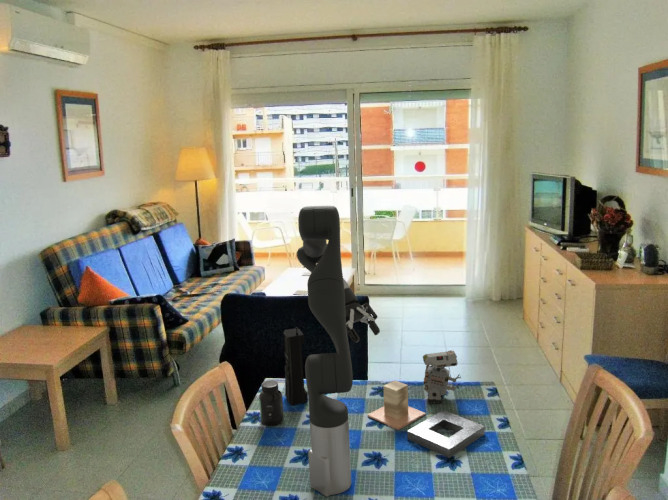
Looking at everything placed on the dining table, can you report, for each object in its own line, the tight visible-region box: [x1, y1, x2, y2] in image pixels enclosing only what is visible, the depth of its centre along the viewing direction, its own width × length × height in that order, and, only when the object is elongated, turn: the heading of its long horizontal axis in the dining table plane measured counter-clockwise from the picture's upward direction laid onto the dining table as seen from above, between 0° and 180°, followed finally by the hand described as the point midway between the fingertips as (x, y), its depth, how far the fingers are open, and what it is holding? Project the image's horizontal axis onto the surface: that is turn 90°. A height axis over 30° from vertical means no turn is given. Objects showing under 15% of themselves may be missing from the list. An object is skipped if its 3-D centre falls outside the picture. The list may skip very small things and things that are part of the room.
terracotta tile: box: [367, 405, 426, 431], centre depth 177 cm, size 12×12×1 cm
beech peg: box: [383, 380, 409, 419], centre depth 176 cm, size 5×5×9 cm
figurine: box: [422, 350, 462, 405], centre depth 185 cm, size 9×12×15 cm
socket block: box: [406, 409, 486, 459], centre depth 163 cm, size 16×14×2 cm
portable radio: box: [283, 326, 309, 406], centre depth 188 cm, size 8×6×25 cm
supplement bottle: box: [258, 380, 285, 428], centre depth 176 cm, size 7×7×12 cm
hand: (368, 337), depth 179 cm, fingers open, 8 cm apart
